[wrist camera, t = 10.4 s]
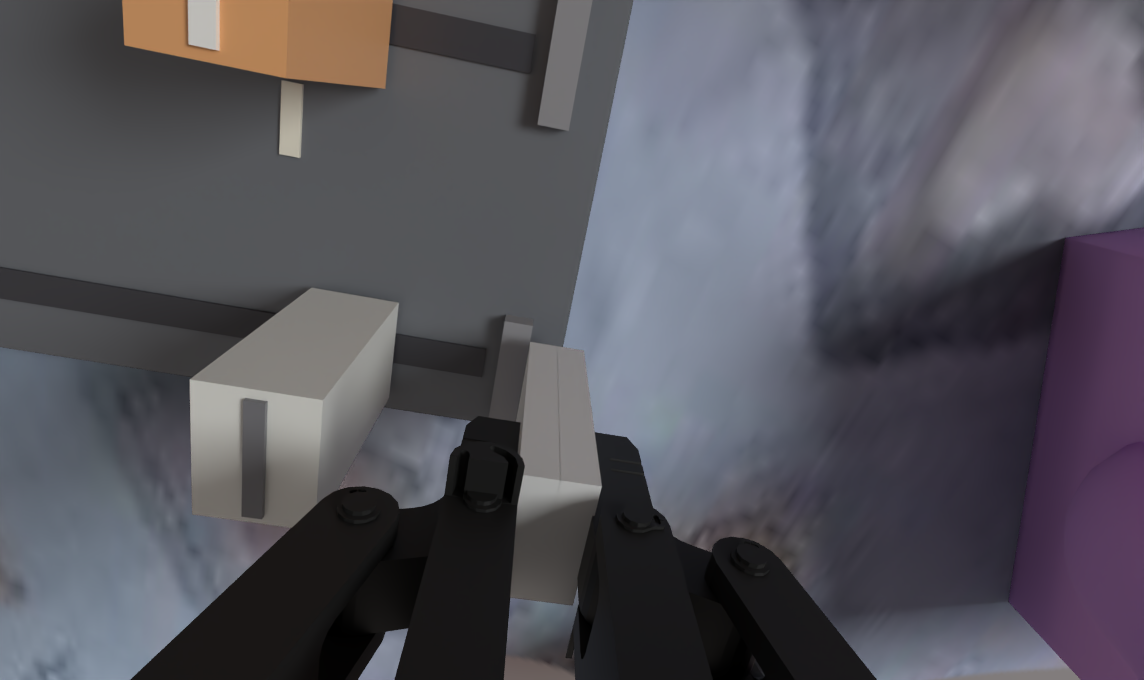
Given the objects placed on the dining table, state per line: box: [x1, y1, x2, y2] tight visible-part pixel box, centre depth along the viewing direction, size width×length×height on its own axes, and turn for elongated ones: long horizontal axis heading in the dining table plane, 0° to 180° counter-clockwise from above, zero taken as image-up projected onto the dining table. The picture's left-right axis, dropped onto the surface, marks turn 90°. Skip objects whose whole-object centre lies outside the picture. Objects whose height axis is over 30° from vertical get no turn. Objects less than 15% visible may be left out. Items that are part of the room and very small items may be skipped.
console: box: [0, 0, 633, 422], centre depth 17 cm, size 13×28×3 cm, turn 79°
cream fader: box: [190, 288, 399, 528], centre depth 15 cm, size 3×2×6 cm
